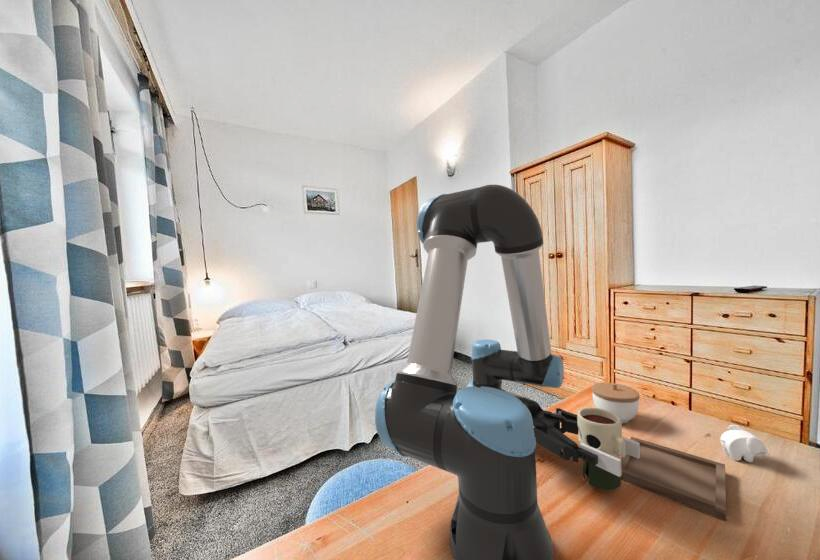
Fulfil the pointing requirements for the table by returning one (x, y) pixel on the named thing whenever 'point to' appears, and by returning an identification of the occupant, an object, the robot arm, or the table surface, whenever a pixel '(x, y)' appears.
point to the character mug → (601, 444)
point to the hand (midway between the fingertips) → (629, 459)
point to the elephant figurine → (741, 444)
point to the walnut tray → (678, 477)
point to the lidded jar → (616, 399)
